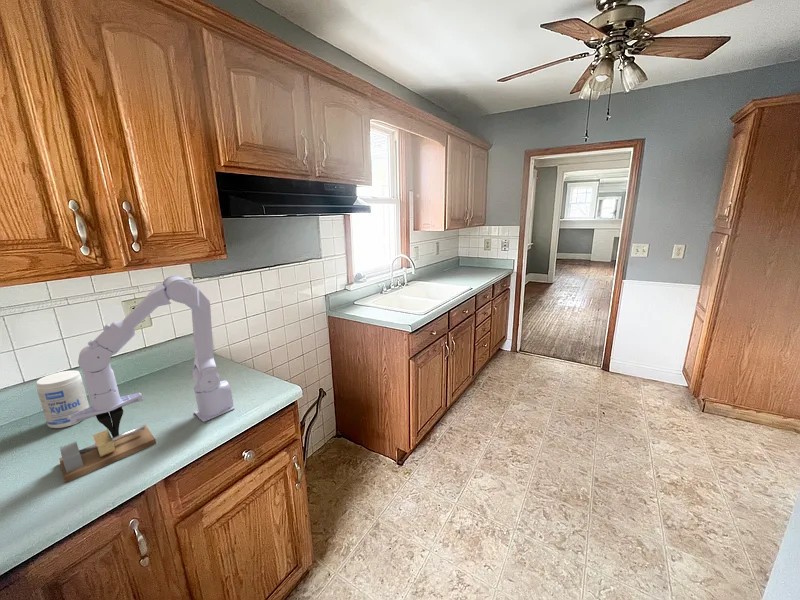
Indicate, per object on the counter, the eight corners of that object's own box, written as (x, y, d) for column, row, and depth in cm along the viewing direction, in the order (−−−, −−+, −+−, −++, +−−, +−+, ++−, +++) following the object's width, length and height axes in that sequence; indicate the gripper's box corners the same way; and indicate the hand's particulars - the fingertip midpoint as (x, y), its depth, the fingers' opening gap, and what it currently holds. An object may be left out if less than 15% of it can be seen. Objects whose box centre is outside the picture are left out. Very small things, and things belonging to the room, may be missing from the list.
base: (146, 428, 97) (142, 414, 96) (156, 443, 91) (152, 427, 90) (60, 463, 84) (55, 446, 83) (65, 483, 78) (59, 465, 76)
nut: (110, 439, 90) (107, 429, 89) (115, 450, 85) (112, 440, 85) (95, 444, 88) (92, 435, 87) (100, 456, 83) (97, 446, 82)
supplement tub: (55, 433, 96) (40, 388, 92) (43, 424, 100) (28, 380, 97) (97, 415, 104) (85, 373, 100) (84, 408, 109) (72, 367, 105)
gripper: (133, 374, 94) (143, 416, 97) (62, 395, 83) (76, 442, 87) (140, 382, 89) (150, 426, 93) (65, 405, 79) (80, 454, 82)
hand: (115, 434), depth 89 cm, fingers closed
